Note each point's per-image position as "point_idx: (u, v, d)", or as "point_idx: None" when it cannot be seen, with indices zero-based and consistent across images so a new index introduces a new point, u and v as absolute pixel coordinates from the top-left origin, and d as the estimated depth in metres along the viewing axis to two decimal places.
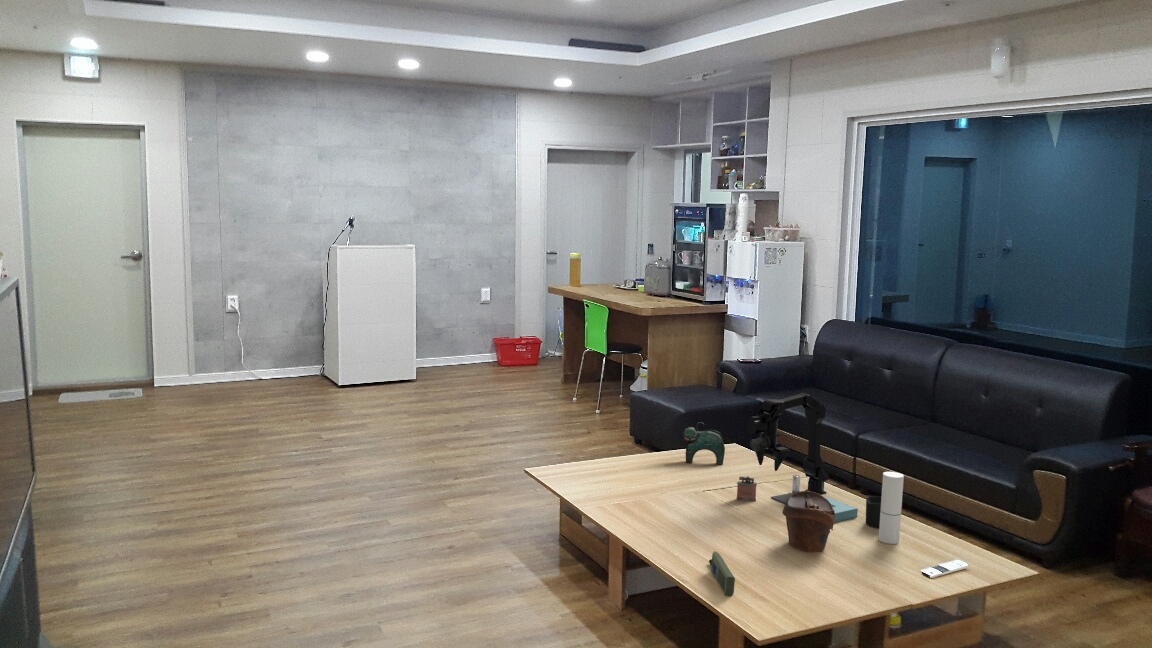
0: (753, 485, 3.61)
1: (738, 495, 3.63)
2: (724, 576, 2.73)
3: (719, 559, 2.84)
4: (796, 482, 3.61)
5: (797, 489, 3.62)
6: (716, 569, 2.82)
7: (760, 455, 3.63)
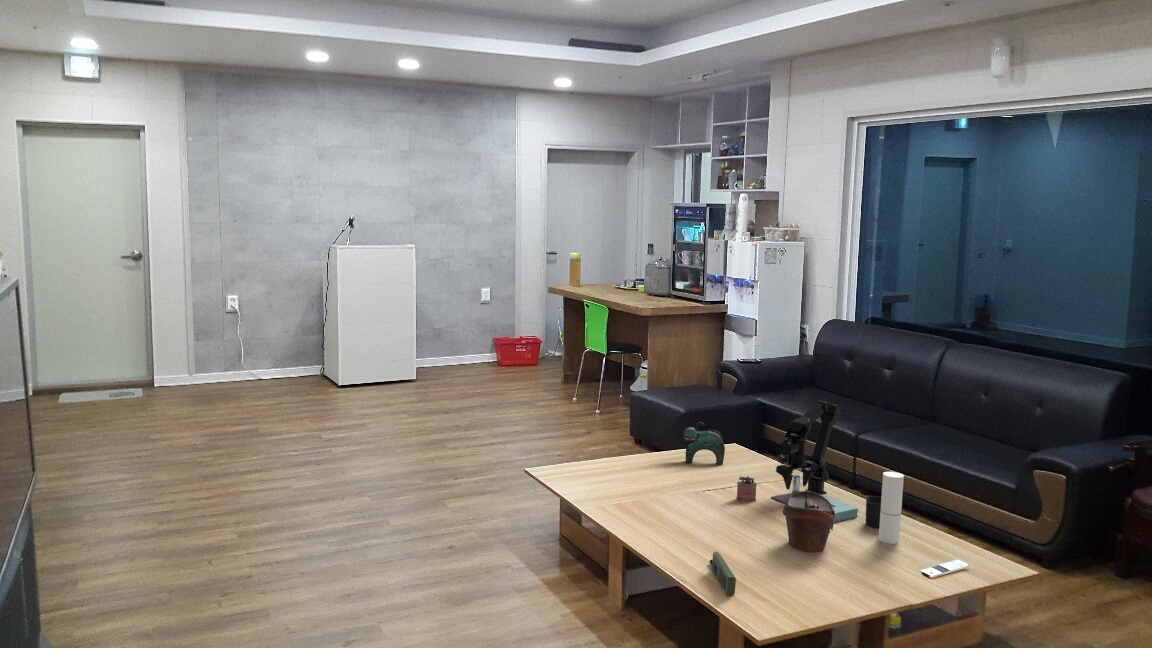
0: (753, 485, 3.61)
1: (738, 495, 3.63)
2: (725, 576, 2.73)
3: (720, 559, 2.84)
4: (796, 482, 3.61)
5: (797, 489, 3.62)
6: (717, 569, 2.82)
7: (804, 476, 3.65)
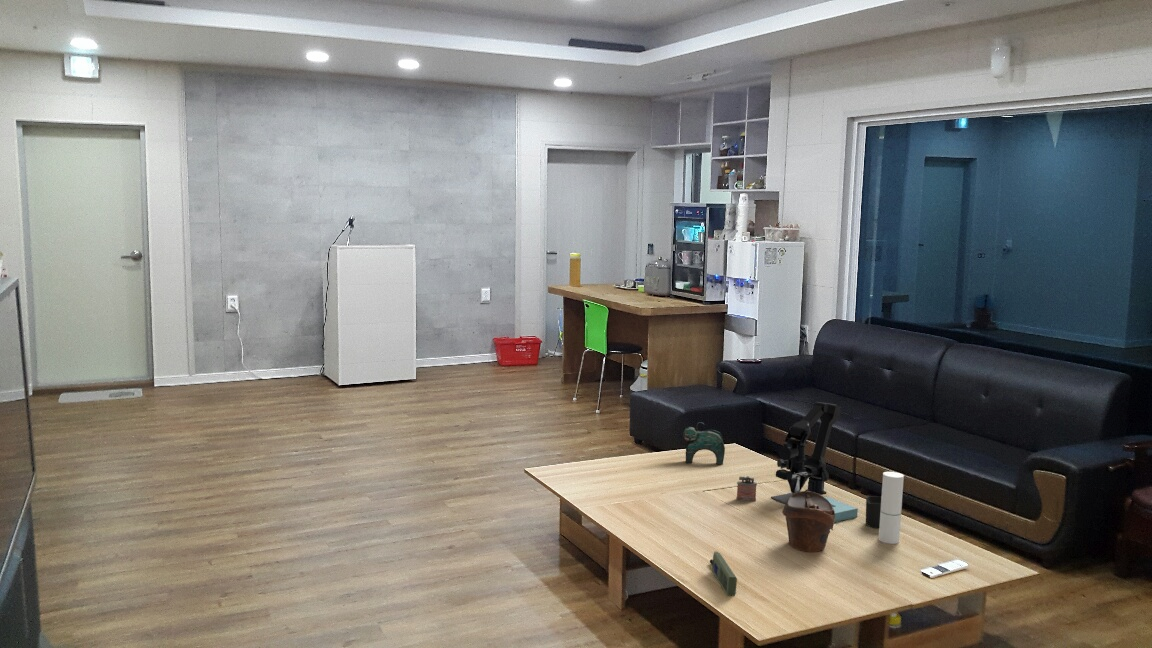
0: (753, 485, 3.61)
1: (738, 495, 3.63)
2: (726, 576, 2.74)
3: (720, 559, 2.84)
4: None
5: (797, 489, 3.62)
6: (718, 569, 2.82)
7: None
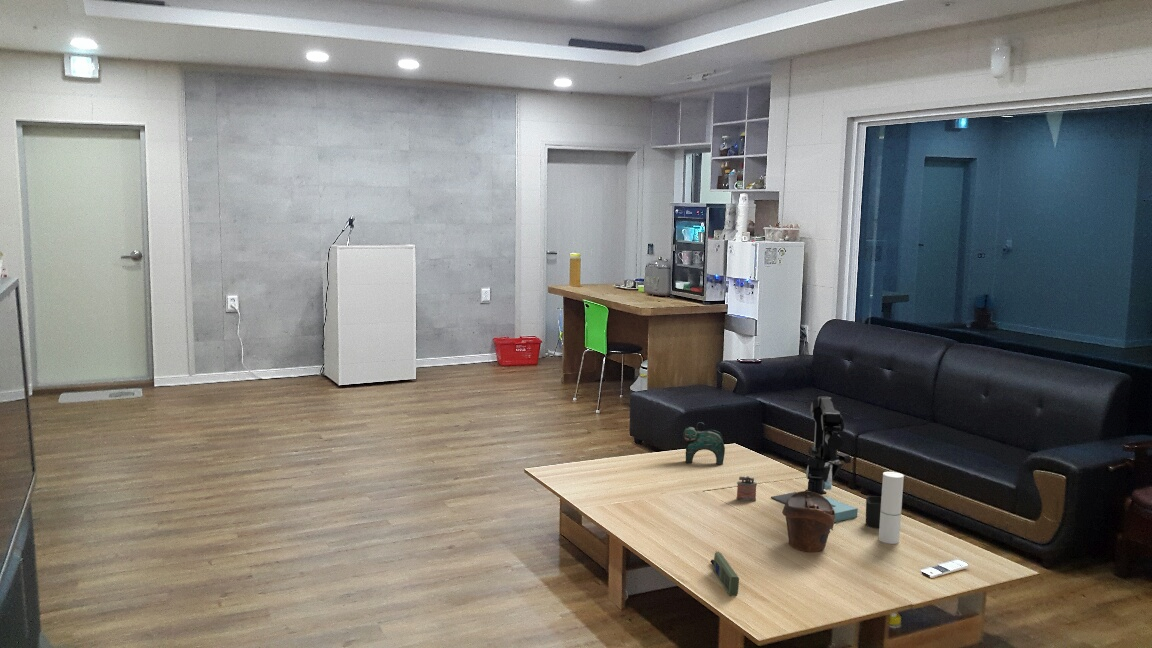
0: (753, 485, 3.61)
1: (738, 495, 3.63)
2: (728, 576, 2.74)
3: (722, 559, 2.84)
4: None
5: (829, 478, 3.46)
6: (719, 569, 2.82)
7: None
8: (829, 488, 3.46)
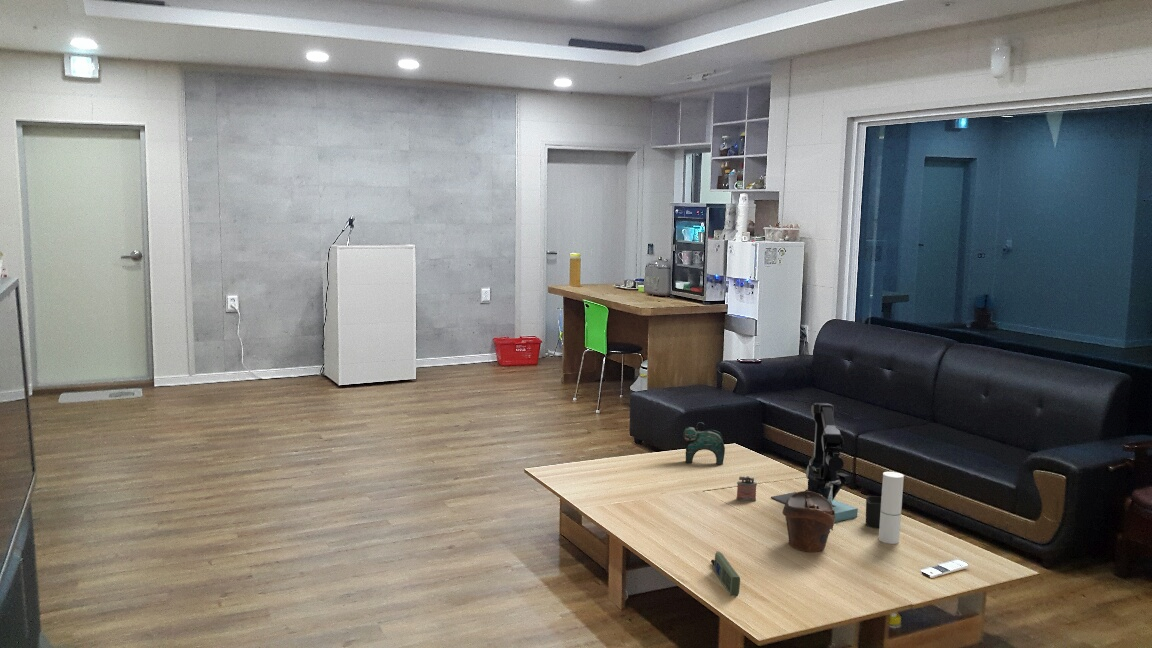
0: (753, 485, 3.61)
1: (738, 495, 3.63)
2: (729, 576, 2.74)
3: (723, 559, 2.84)
4: None
5: (830, 498, 3.46)
6: (720, 569, 2.82)
7: None
8: None
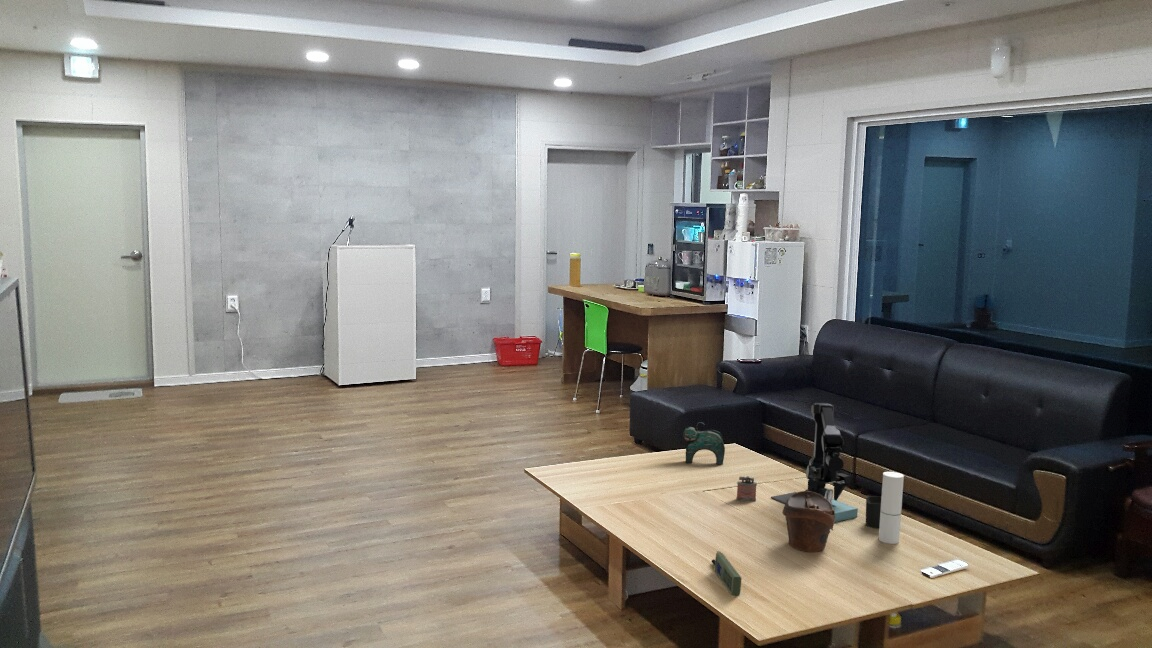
0: (753, 485, 3.61)
1: (738, 495, 3.63)
2: (730, 576, 2.74)
3: (723, 559, 2.84)
4: (829, 496, 3.46)
5: None
6: (721, 569, 2.82)
7: (836, 490, 3.50)
8: None
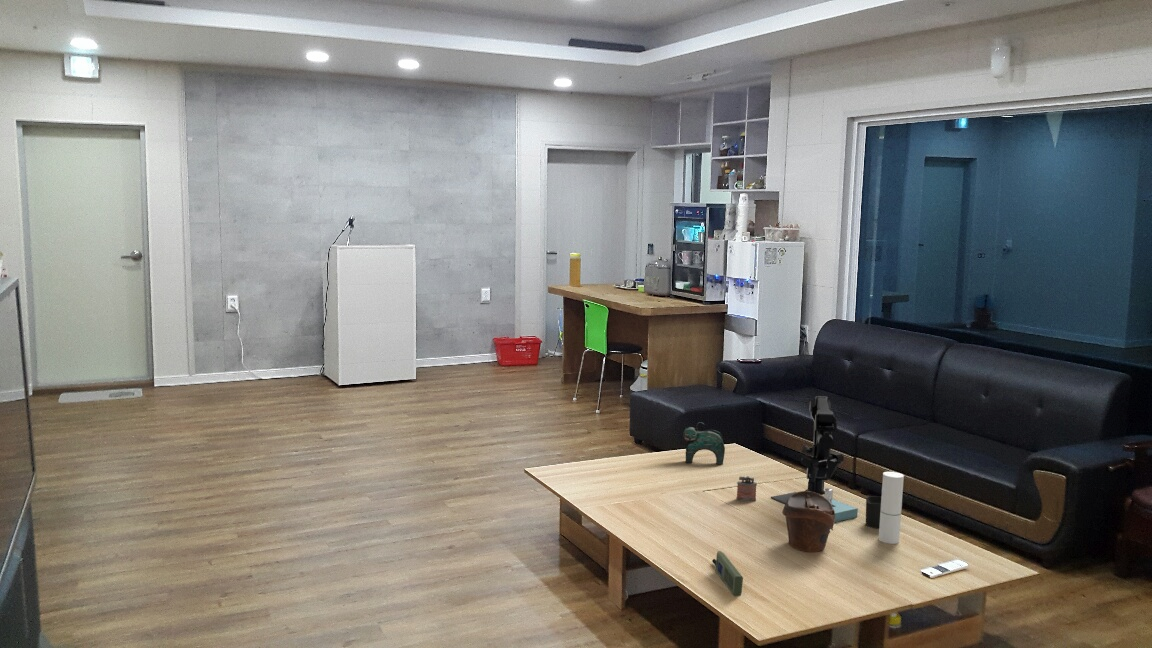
0: (753, 485, 3.61)
1: (738, 495, 3.63)
2: (732, 576, 2.74)
3: (724, 559, 2.84)
4: (829, 496, 3.46)
5: None
6: (722, 568, 2.82)
7: (830, 468, 3.57)
8: None
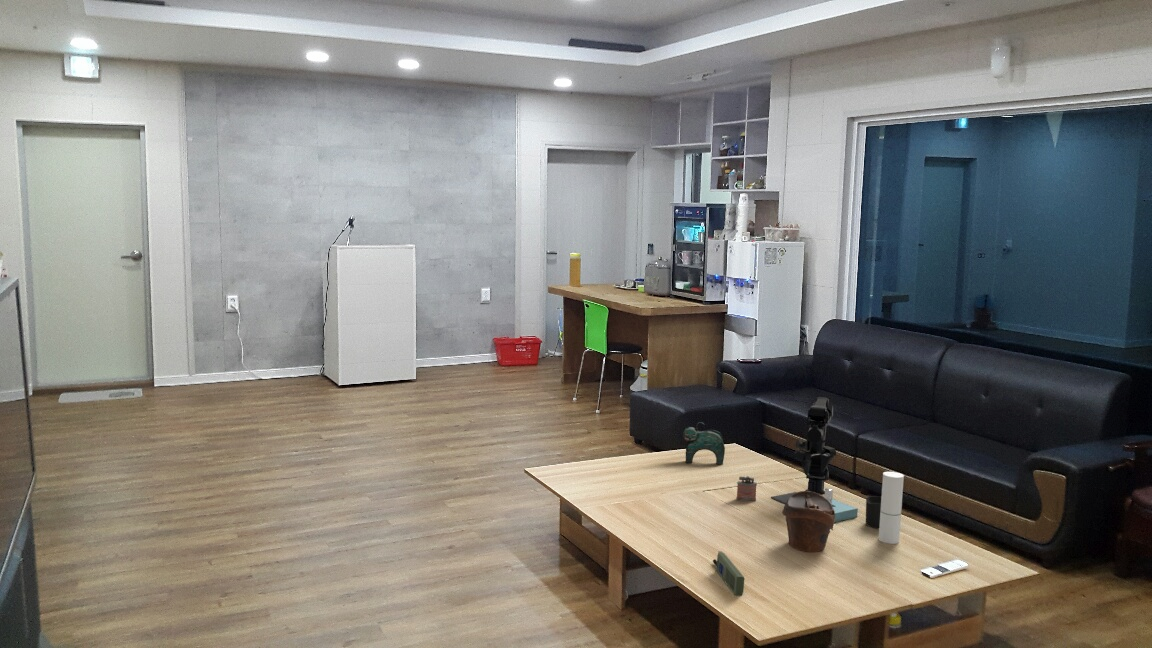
0: (753, 485, 3.61)
1: (738, 495, 3.63)
2: (733, 576, 2.74)
3: (726, 559, 2.84)
4: (829, 496, 3.46)
5: None
6: (723, 569, 2.82)
7: (822, 462, 3.64)
8: None
